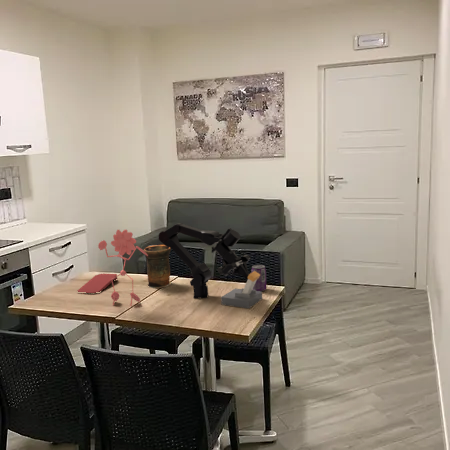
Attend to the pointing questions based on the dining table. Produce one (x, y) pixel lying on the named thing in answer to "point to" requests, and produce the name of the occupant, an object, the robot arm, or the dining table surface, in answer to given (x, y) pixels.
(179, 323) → the dining table surface
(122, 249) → the figurine
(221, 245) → the robot arm
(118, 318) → the dining table surface
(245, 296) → the box
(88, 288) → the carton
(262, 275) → the beverage can
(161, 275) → the vessel
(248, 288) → the lever
